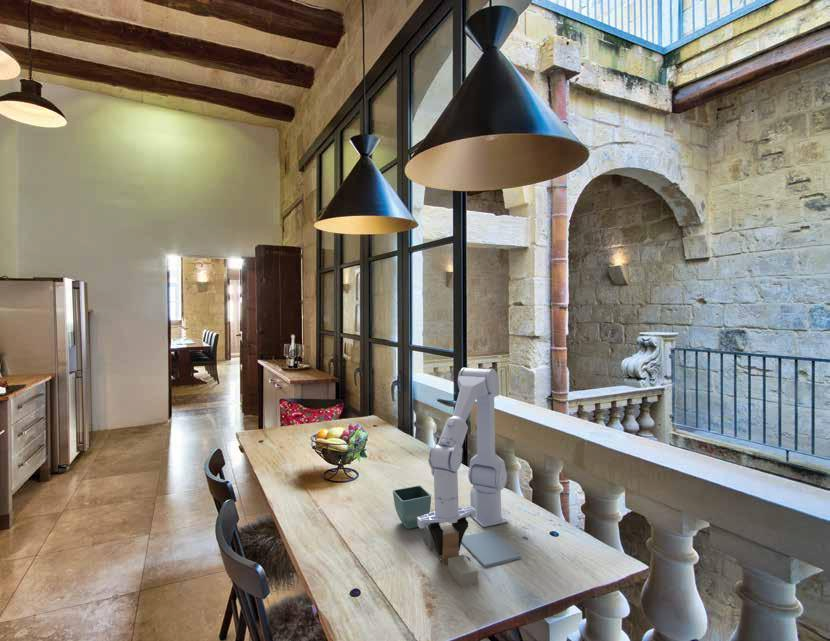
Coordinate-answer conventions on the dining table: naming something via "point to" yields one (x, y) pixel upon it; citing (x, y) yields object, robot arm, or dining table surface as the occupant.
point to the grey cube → (430, 537)
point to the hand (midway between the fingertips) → (447, 551)
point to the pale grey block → (463, 570)
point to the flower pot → (411, 504)
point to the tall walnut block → (449, 543)
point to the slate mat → (489, 548)
